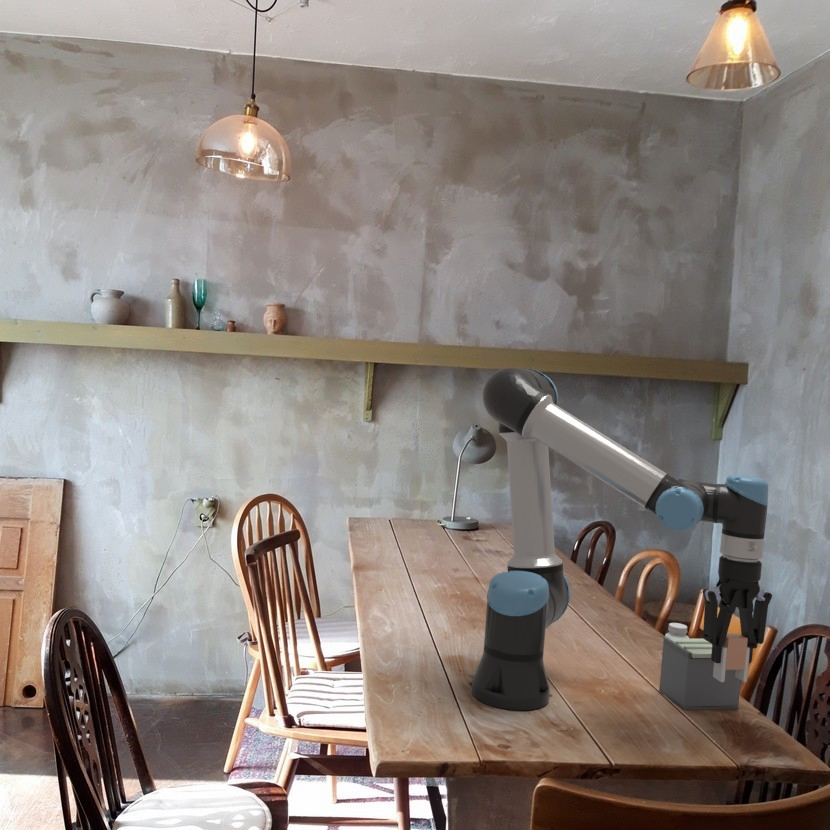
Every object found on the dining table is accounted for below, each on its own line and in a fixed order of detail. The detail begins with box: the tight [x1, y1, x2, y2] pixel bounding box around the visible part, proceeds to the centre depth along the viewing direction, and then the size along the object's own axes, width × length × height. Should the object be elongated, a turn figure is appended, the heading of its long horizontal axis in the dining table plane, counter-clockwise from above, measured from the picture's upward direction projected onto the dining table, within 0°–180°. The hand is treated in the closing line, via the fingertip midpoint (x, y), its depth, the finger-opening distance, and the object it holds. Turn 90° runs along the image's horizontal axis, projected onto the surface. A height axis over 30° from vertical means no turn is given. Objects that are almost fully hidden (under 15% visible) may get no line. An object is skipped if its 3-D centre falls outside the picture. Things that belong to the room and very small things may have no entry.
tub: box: [658, 636, 742, 710], centre depth 167 cm, size 12×10×11 cm
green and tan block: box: [669, 632, 748, 670], centre depth 163 cm, size 10×16×6 cm, turn 12°
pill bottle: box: [664, 622, 690, 639], centre depth 186 cm, size 5×5×10 cm
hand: (729, 679), depth 157 cm, fingers closed on green and tan block, 4 cm apart
